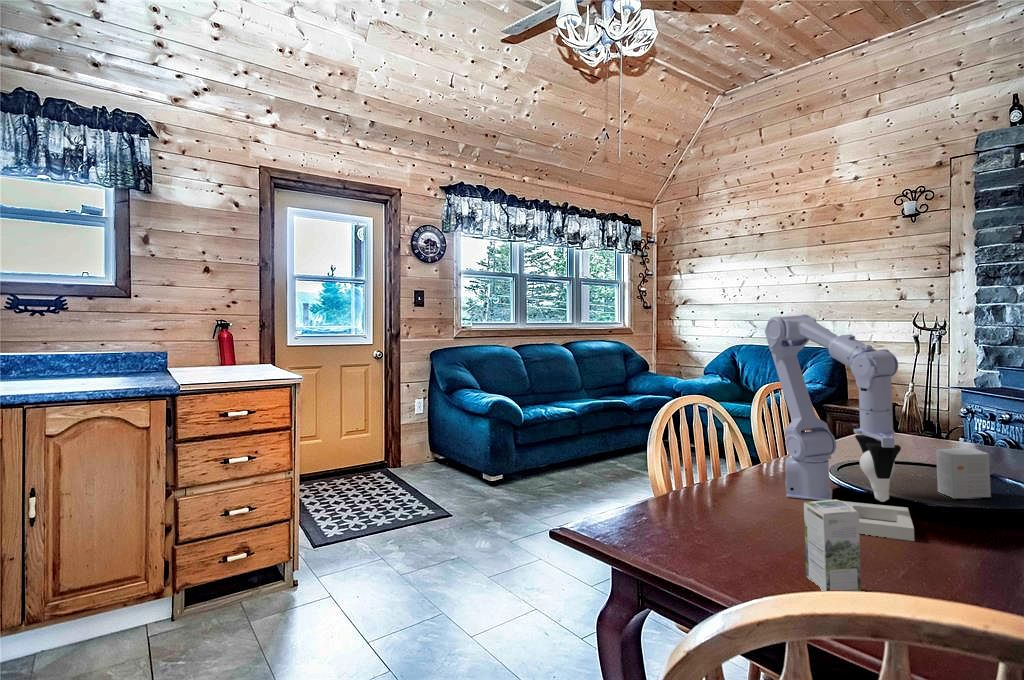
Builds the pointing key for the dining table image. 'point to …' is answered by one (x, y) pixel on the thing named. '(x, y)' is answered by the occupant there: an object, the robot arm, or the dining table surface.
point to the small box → (963, 472)
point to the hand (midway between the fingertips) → (878, 473)
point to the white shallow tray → (884, 528)
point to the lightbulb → (875, 477)
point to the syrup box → (832, 545)
